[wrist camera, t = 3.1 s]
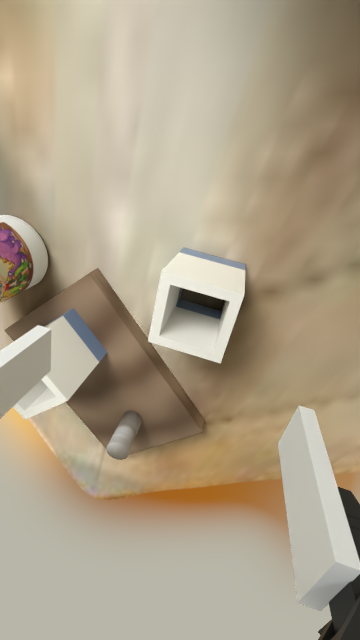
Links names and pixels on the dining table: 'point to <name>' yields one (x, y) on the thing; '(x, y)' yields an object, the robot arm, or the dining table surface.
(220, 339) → the white sleeve
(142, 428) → the pin board
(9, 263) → the milk bottle
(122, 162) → the dining table surface
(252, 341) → the dining table surface
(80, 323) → the seated sleeve
